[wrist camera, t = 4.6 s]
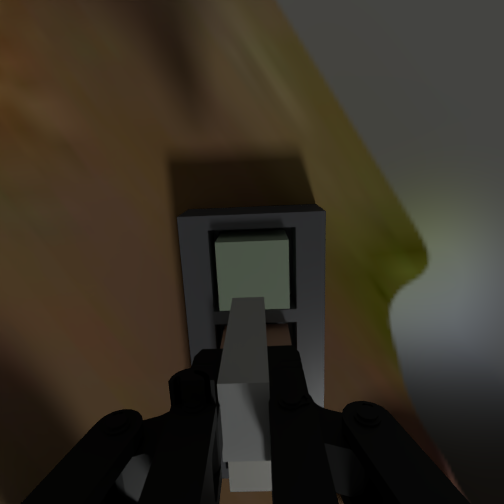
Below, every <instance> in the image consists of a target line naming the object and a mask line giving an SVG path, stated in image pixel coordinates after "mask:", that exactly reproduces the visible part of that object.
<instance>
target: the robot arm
mask: <svg viewBox="0 0 504 504" xmlns="http://www.w3.org/2000/svg"><path fill="white" fill-rule="evenodd" d="M168 383H169V391H170V400H171V408H170V411H169V412H167V413H165V414H163V415H161V416H158V417H154V418H150V419H147V420H143V419H142V416H141V414H140V413H139V412H137V411H135V410H132V409H123V410H119V411H115V412H112V413H110V414H108V415H106V416H104V417H103V418H102V419H100V420H99V421H98V422H97V423H96V424H95V425H94V426H93V427H92V428H91V429H90V430H89V431H88V432H87V434H86V435H85V436H84V437H83V438H82V439H81V440H80V441H79V442H78V443H77V444H76V445H75V446H74V447H73V448H72V450H71V451H70V452H69V453H68V454H67V455H66V456H65V457H64V458H63V459H62V460H61V461H60V462H59V463H58V464H57V466H56V467H55V468H54V469H53V470H52V471H51V472H50V473H49V474H48V475H47V476H46V477H45V478H44V479H43V480H42V482H41V483H40V484H39V485H38V486H37V487H36V488H35V489H34V490H33V491H32V492H31V493H30V494H29V495H28V496H27V497H26V499H25V500H24V501H23V502H22V503H21V504H219V501H220V492H221V483H222V471H221V459H222V455H223V462H241V461H271V479H272V501H273V504H339V503H338V499H337V495H336V493H338V494H341V497H342V500H343V502H344V504H470V503H469V502H468V500H467V499H466V498H465V497H464V496H463V495H462V494H461V493H460V491H459V490H458V489H457V488H456V487H455V486H454V485H453V484H452V482H451V481H450V480H449V479H448V478H447V477H446V476H445V475H444V474H443V472H442V471H441V470H440V469H439V468H438V467H437V466H436V465H435V463H434V462H433V461H432V460H431V459H430V458H429V457H428V456H427V454H426V453H425V452H424V451H423V450H422V449H421V448H420V447H419V446H418V444H417V443H416V442H415V441H414V440H413V439H412V438H411V437H410V435H409V434H408V433H407V432H406V431H405V430H404V429H403V428H402V426H401V425H400V424H399V423H398V422H397V421H396V420H395V419H394V418H393V416H392V415H391V414H390V413H389V412H388V411H387V410H385V409H384V408H383V407H381V406H379V405H377V404H375V403H371V402H366V401H355V402H352V403H350V404H347V405H346V407H345V408H344V409H343V412H342V413H341V412H336V411H332V410H328V409H325V408H323V407H321V406H319V405H317V404H316V403H315V402H314V400H313V399H312V397H311V395H309V393H308V388H307V384H306V379H305V375H304V371H303V366H302V362H301V358H300V353H299V351H298V350H297V349H296V348H295V347H294V346H293V345H283V346H267V337H266V320H265V303H264V297H245V298H232V303H231V308H230V314H229V319H228V325H227V331H226V336H225V342H224V347H223V348H222V349H202V350H201V351H200V352H199V353H198V354H196V355H195V356H194V359H193V362H192V366H191V368H188V369H185V370H182V371H179V372H177V373H176V374H175V375H173V376H172V377H171V378H170V380H169V381H168Z"/></svg>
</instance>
